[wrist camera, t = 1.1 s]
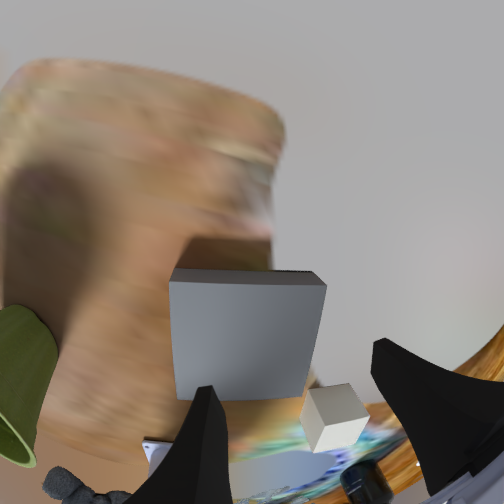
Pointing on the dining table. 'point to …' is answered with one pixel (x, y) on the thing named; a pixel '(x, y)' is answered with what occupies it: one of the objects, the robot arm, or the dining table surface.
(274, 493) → the stuffed giraffe
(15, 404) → the plant pot
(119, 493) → the koala plush
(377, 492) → the supplement bottle
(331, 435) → the cream block
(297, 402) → the dining table surface
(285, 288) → the slate slab
